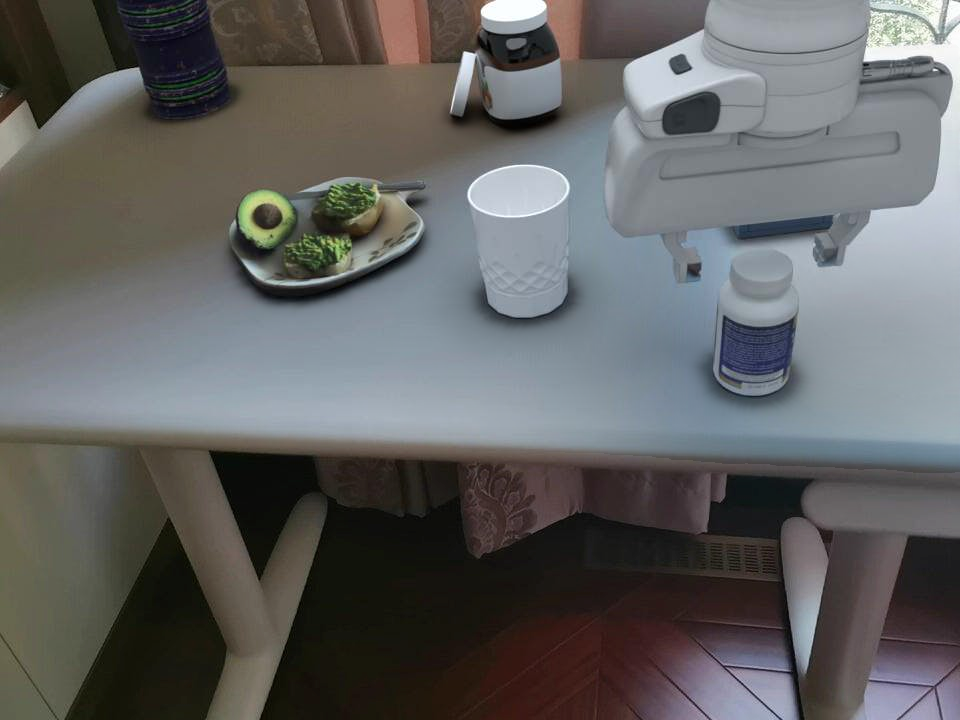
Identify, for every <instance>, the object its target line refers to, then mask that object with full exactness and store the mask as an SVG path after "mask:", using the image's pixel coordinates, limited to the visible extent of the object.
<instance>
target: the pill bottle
mask: <svg viewBox="0 0 960 720" xmlns="http://www.w3.org/2000/svg"><path fill="white" fill-rule="evenodd" d="M729 270H730V271H729V274H728V275H729V276H728V277H729V278H728V279H727V280H726V281H725V282H723V283H722V285H721V287H720V289H719V290H718V295H717V302H716V303H717V306H716V317H715V318H716V319H715V331H714V332H715V333H714V346H713V360H712V363H713V364H712V367H713V368H712V371H713V374H714V377H715V379H716V381H717V382H718V383H719V384H721V386H722V387H724V388H725V389H727V390H728V391H730V392H733V393H734V394H739V395H743V396H764V395H768V394H772V393H774V392H776V391H778V390H780V389H781V388H782V387H784V385H786V383H787V381H788V379H789V375H790V370H791V364H792V358H793V350H794V344H795V337H796V330H797V323H798V316H799V310H800V296H799V292H798V290H797V288H796V287H795V285H793V283H792V282H793V275H794V273H793V272H794V263H793V260H792V259H791V258H790V256H788V255H787V254H785V253H784V252H782V251H780V250H777V249H774V248H770V247H751V248H746V249H743V250H740V251H739V252H737V253H735V255H734V256H733V257H732V260H731V263H730V269H729Z"/></svg>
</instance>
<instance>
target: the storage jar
mask: <svg viewBox="0 0 960 720" xmlns="http://www.w3.org/2000/svg"><path fill="white" fill-rule="evenodd" d="M115 2H116V5H117V10H118V14H119V17H120V19H121V21H122V23H123V26H124V30H125V32H126V35H127V36H128V37H129V38H130V40H131V42H132V46H133V48H134V51H135V55H136V58H137V61H138V63H139V66H138V69H139V73H140V75H141V78H142V84H143V87H144V91H145V92H146V94H147V95H148V98H149V100H150V101H151V106H152V111H153V112H154V114H155V115H156V116H158V117H159V118H162V119H167V120H187V119H193V118H197V117H202V116H205V115H207V114H210V113H213V112H216V111H218V110H219V109H221V108H223V107H224V106H226V105H227V104H228V103H229V102H230V101H231V99H232V97H233V91H232V89H231V88H232V87H231V86H230V85H229V78H228V71H227V67H226V63H225V62H224V60H223V56H222V52H221V49H220V48H219V46H217V42H216V38H215V35H214V32H213V28H212V25H211V21H210V20H211V13H210V12H211V10H210V8H209V7H208V0H115Z"/></svg>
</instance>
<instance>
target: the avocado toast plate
mask: <svg viewBox="0 0 960 720" xmlns="http://www.w3.org/2000/svg"><path fill="white" fill-rule="evenodd" d="M425 188H426V181H425V180H409V181H397V182H387V183H384V182H381V181H378V180H375V179H372V178H365V177H355V176H353V177H352V176H348V177H347V176H346V177H339V178H335V179H332V180H328V181H326V182H322V183H319V184H318V185H315V186H311V187H309V188H306V189H303V190H301V191H298V192H293V193H287V194H286V193H283V194H282V193H280V192H278V191H275V190H273V189H267V188H265V189H263V188H262V189H260V188H259V189H255V190H253V191H250V192H249V193H247V194H246V195H244V196H243V197H242V199H241V201H240V202H238V203H237V204H235V205H234V206H235V207H236V212H235V219H233V222H232V223H231V224H230V227H229V230H228V243H229V246H230V248H231V249H232V251H233V253H234V255H235V258H236V260H237V261H238V263H239V264H240V265H241V266H242V267H243V269H244V271H245V273H246V274H247V276H248V278H249V280H250V281H251V282H252V283H254V284H255V285H256V287H258V288H260V289H261V290H264V291H266V292H269V293H271V294H274V295H277V296H280V297H284V298H285V297H286V298H296V297H305V296H310V295H315V294H319V293H322V292H325V291H328V290H331V289H334V288H336V287H339V286H341V285H343V284H345V283H349V282H352V281H355V280H358V279H360V278H361V277H363V276H365V275H367V274H369V273H371V272H373V271H375V270H378V268H381V267H382V266H385V265H387V264H388V263H389V262H391V261H394V260H395V259H397V258H399V257H401V256H403V255H405V254H406V253H407V252H409V251H410V250H411V249H412V248H413V247H414V246H415V245H417V244H418V243H419V241H420V240H421V238H422V236H423V234H424V232H425V230H426V224H425V222H424V220H423V219H422V218H421V216H420V215H419V214H418V213H417V212H415V210H414V209H413V208H411V207H410V206H409V205H408V203H407V200H408V198H409V197H411V196H413V195H415V194H417V193H420V192H421V191H424V190H425Z"/></svg>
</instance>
